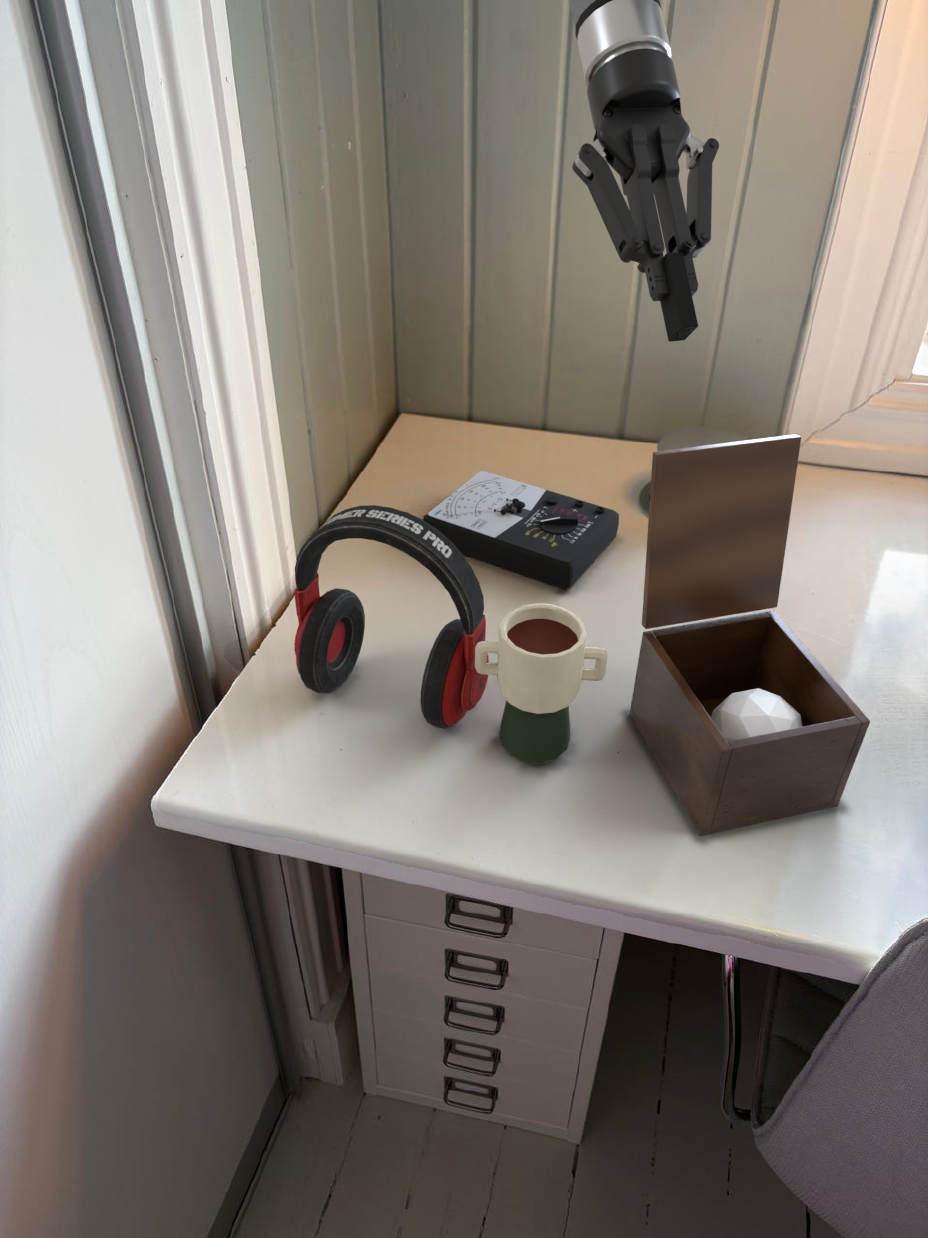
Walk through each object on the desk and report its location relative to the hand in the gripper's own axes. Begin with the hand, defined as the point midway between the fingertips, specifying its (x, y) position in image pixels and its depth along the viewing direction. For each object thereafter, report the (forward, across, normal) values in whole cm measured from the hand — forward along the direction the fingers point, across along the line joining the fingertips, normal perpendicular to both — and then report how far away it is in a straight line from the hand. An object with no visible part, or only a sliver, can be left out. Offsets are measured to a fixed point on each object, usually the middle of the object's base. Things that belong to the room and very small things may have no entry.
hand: (683, 333), depth 78 cm
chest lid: (+17, 0, -1) cm, 17 cm away
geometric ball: (+37, -1, -6) cm, 37 cm away
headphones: (+25, +27, -19) cm, 41 cm away
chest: (+36, 0, -8) cm, 37 cm away
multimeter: (+9, +7, -35) cm, 37 cm away
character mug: (+32, +16, -12) cm, 37 cm away
